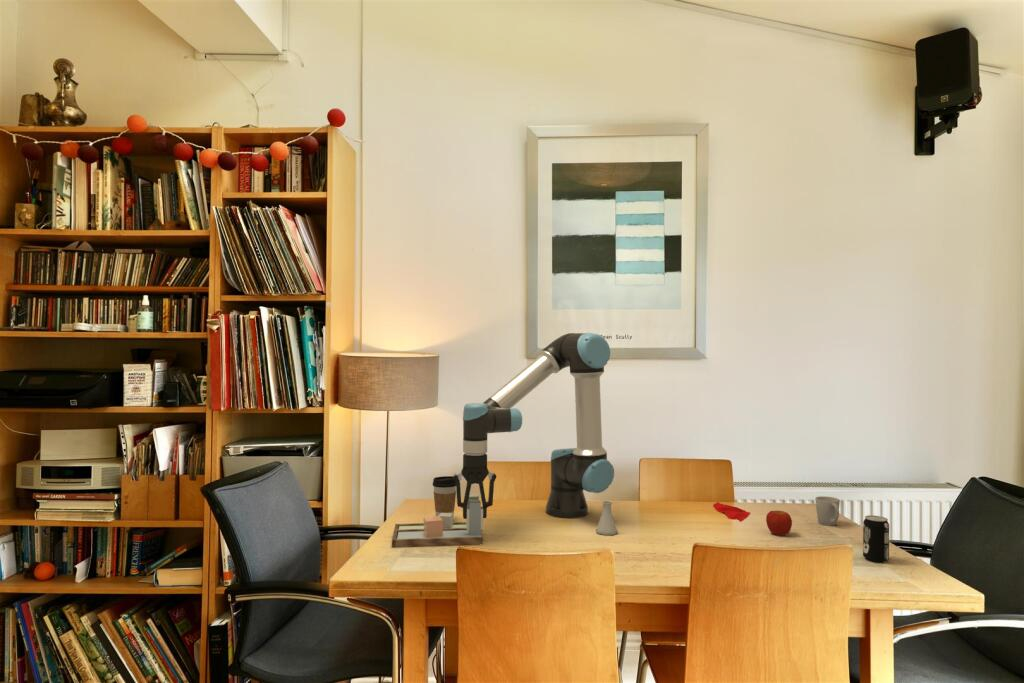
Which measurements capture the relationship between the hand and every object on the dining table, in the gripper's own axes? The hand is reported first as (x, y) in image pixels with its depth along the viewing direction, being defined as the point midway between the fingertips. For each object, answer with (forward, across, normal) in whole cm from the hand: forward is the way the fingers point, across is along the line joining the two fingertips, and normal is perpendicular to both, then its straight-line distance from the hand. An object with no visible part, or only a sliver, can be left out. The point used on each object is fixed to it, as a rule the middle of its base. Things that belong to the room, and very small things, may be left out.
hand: (474, 528), depth 211 cm
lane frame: (+4, +11, -3) cm, 12 cm away
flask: (+4, -43, -4) cm, 43 cm away
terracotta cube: (+2, +13, 0) cm, 13 cm away
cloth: (+4, -95, -25) cm, 98 cm away
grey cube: (+2, +9, -8) cm, 12 cm away
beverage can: (+4, -113, +30) cm, 117 cm away
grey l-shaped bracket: (+3, +11, -8) cm, 14 cm away
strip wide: (+3, +11, 0) cm, 11 cm away
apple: (+4, -98, +3) cm, 98 cm away
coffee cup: (+4, +9, -23) cm, 25 cm away
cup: (+4, -121, -6) cm, 121 cm away
